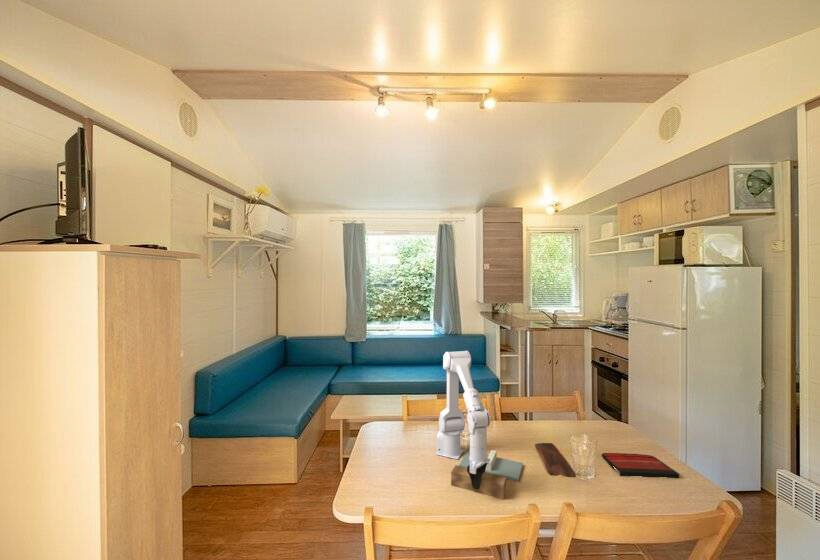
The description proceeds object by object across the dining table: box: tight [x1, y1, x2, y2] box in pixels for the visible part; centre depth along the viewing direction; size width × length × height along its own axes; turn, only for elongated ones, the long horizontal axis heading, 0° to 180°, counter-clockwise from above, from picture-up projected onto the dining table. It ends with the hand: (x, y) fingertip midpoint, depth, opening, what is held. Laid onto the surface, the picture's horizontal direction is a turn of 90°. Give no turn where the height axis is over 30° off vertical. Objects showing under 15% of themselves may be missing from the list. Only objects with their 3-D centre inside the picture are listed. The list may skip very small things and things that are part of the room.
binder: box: [601, 452, 680, 479], centre depth 137 cm, size 16×2×21 cm
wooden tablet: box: [534, 442, 576, 478], centre depth 143 cm, size 26×2×10 cm
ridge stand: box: [458, 449, 524, 482], centre depth 137 cm, size 22×12×4 cm, turn 65°
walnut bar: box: [450, 464, 507, 500], centre depth 123 cm, size 18×5×5 cm, turn 64°
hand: (478, 484), depth 123 cm, fingers closed on walnut bar, 5 cm apart
